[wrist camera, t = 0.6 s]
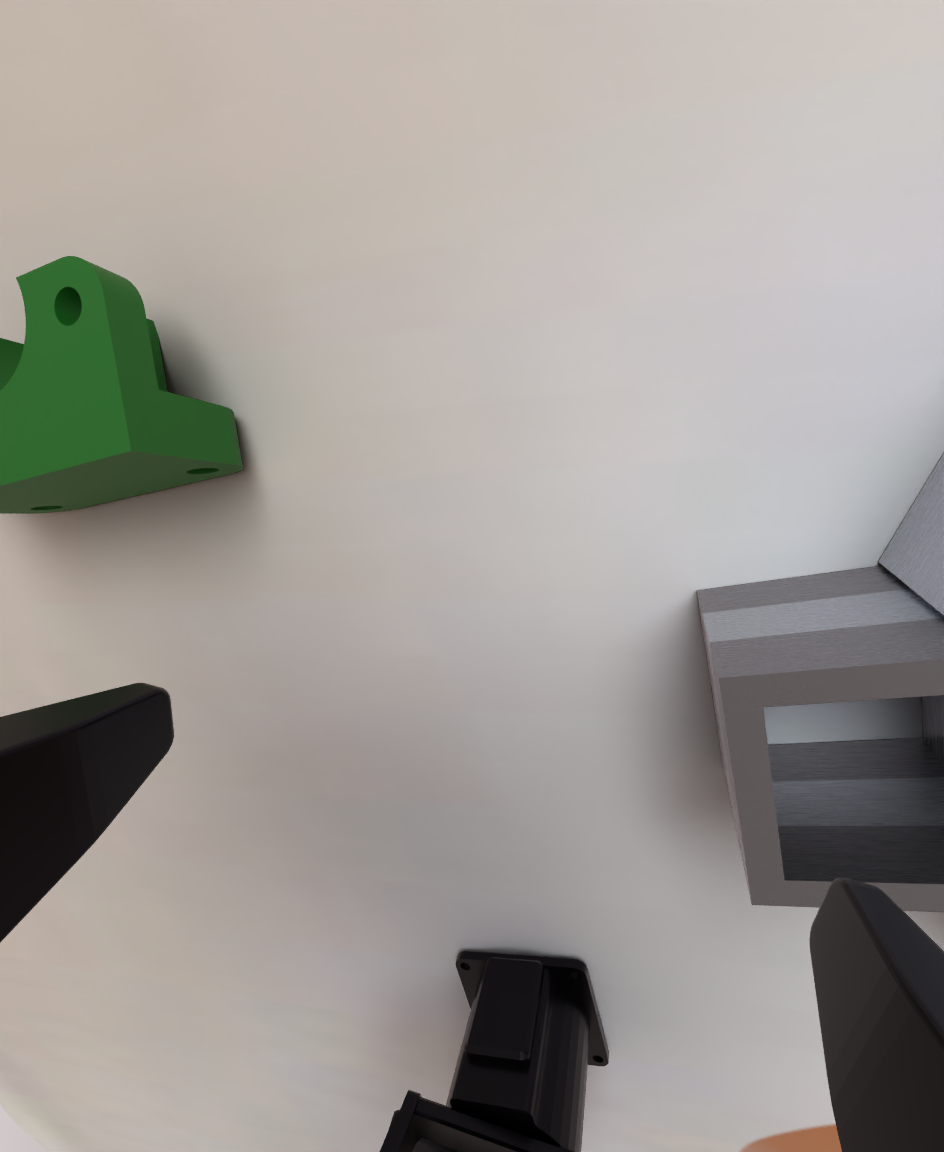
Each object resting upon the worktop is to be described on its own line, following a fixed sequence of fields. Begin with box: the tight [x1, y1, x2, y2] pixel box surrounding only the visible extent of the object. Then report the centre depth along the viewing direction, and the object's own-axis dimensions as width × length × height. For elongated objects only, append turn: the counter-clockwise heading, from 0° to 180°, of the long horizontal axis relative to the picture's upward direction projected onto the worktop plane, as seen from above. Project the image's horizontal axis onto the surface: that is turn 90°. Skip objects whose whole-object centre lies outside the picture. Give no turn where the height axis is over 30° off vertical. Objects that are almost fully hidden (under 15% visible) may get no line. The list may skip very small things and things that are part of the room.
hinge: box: [697, 454, 944, 912], centre depth 16 cm, size 20×10×6 cm, turn 15°
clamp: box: [0, 256, 243, 513], centre depth 21 cm, size 12×6×9 cm, turn 97°
